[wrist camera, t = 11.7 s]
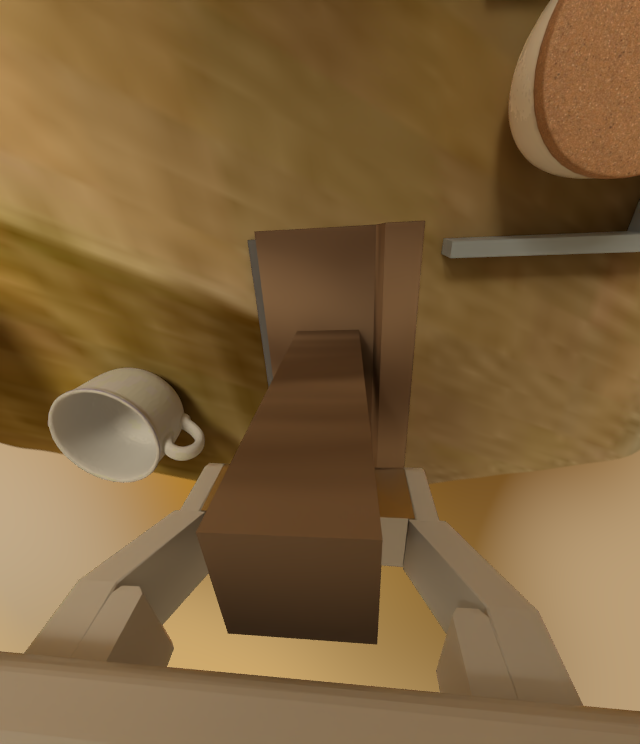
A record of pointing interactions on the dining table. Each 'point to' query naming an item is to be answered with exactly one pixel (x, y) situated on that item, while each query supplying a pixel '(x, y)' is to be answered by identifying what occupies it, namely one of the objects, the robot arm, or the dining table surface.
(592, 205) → the dining table surface
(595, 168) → the lidded jar
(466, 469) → the dining table surface
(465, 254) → the frame
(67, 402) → the teacup
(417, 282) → the scraper
